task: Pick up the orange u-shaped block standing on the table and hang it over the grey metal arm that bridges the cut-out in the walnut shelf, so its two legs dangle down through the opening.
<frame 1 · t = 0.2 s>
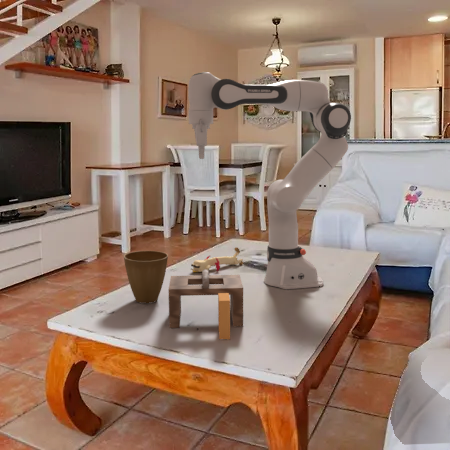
hand: (201, 158, 188), 48 cm above the table, tool pointing down, fingers open, 8 cm apart
hook shelf: (206, 318, 160), on the table
plant pot: (147, 300, 178), on the table
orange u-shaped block: (224, 334, 148), on the table
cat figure: (216, 269, 219), on the table
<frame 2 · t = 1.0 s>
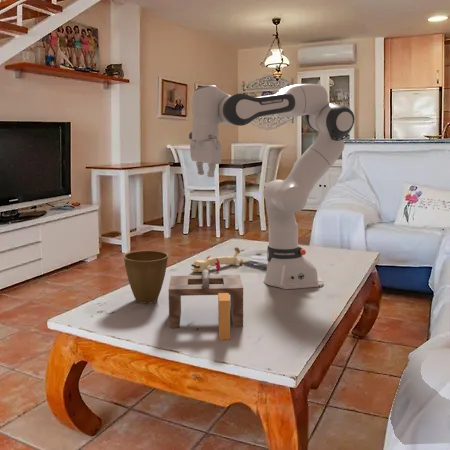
hand: (205, 175, 176), 42 cm above the table, tool pointing down, fingers open, 8 cm apart
nothing on the table moved.
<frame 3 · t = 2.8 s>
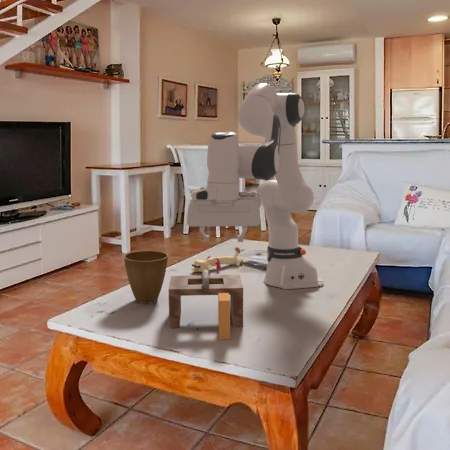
hand: (223, 241, 143), 27 cm above the table, tool pointing down, fingers open, 8 cm apart
nothing on the table moved.
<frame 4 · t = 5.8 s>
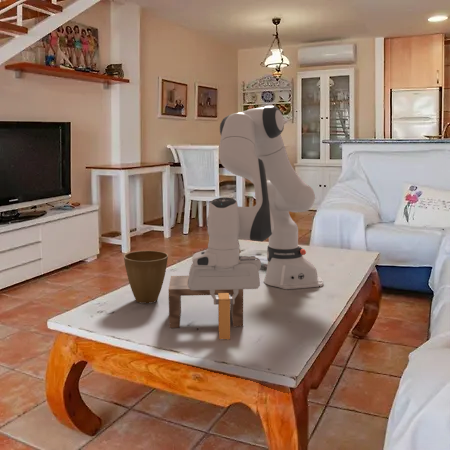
hand: (224, 303, 146), 9 cm above the table, tool pointing down, fingers closed on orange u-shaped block, 3 cm apart
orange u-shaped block: (224, 334, 148), on the table, touching gripper
everything else where it was.
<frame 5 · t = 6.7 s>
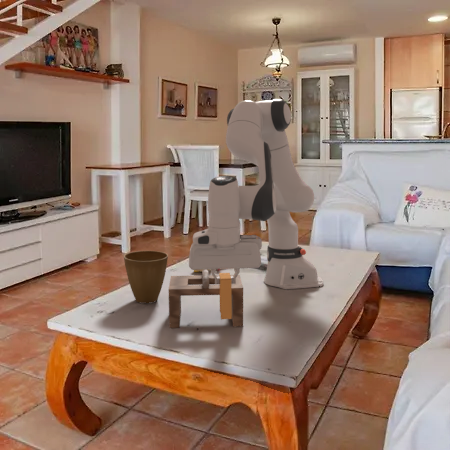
hand: (225, 283, 145), 15 cm above the table, tool pointing down, fingers closed on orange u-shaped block, 3 cm apart
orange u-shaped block: (225, 314, 147), point 6 cm above the table, touching gripper
everything else where it was.
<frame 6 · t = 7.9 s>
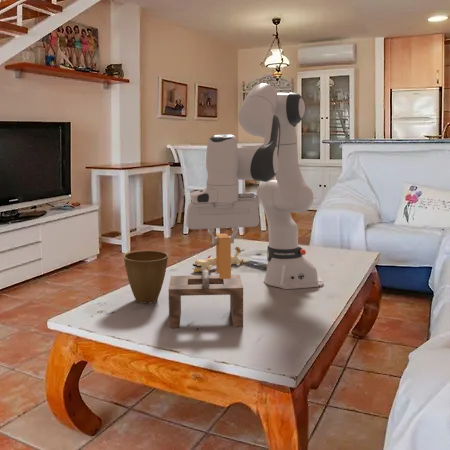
hand: (223, 243, 144), 27 cm above the table, tool pointing down, fingers closed on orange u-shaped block, 3 cm apart
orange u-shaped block: (223, 275, 146), point 17 cm above the table, touching gripper
everything else where it was.
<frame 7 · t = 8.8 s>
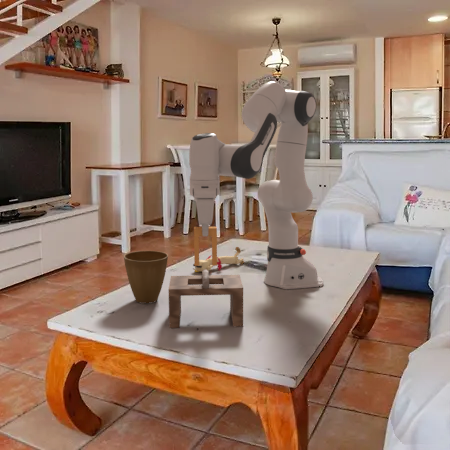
hand: (205, 234, 155), 27 cm above the table, tool pointing down, fingers closed on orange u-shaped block, 3 cm apart
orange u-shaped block: (205, 264, 157), point 18 cm above the table, touching gripper
everything else where it was.
when the fingers open (15 cm above the table, at t = 11.6 s): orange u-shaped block stays where it is, resting on hook shelf.
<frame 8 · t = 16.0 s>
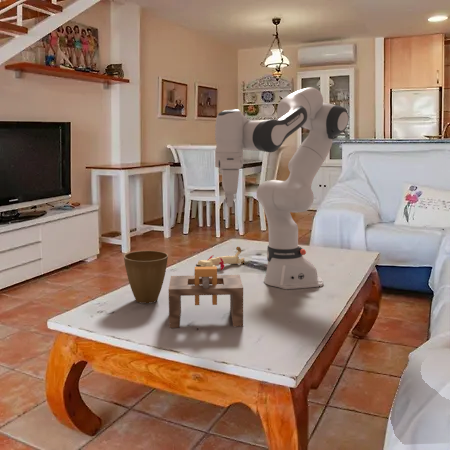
hand: (229, 204, 166), 34 cm above the table, tool pointing down, fingers open, 8 cm apart
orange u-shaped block: (205, 303, 160), point 5 cm above the table, touching hook shelf
at the end: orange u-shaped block 0.0 cm off-centre on the hook shelf, point 5.0 cm above the hook shelf's base; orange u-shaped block touching hook shelf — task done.
